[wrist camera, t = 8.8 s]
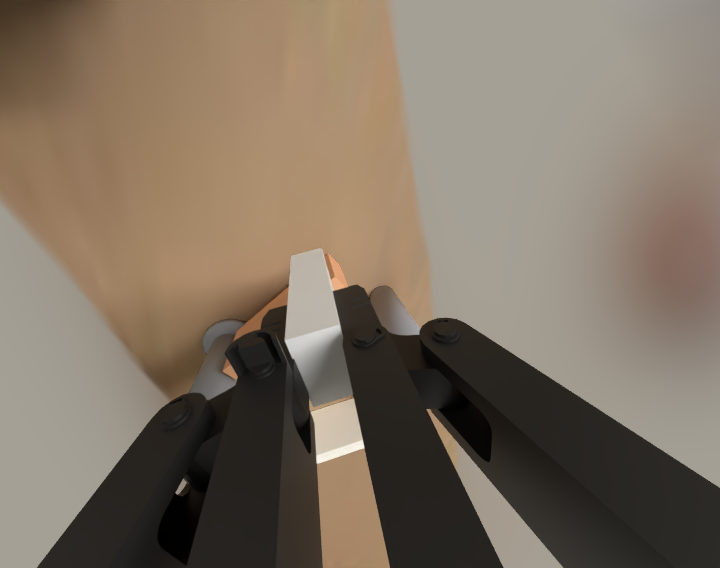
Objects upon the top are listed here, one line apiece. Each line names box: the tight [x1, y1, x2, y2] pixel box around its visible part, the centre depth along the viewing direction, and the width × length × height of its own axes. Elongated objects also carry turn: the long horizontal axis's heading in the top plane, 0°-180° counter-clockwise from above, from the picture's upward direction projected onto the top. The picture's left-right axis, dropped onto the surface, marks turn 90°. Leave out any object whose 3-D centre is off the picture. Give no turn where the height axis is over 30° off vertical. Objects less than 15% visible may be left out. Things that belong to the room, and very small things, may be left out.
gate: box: [189, 253, 348, 400], centre depth 19 cm, size 13×3×7 cm, turn 129°
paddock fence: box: [203, 286, 420, 464], centre depth 23 cm, size 15×17×9 cm
